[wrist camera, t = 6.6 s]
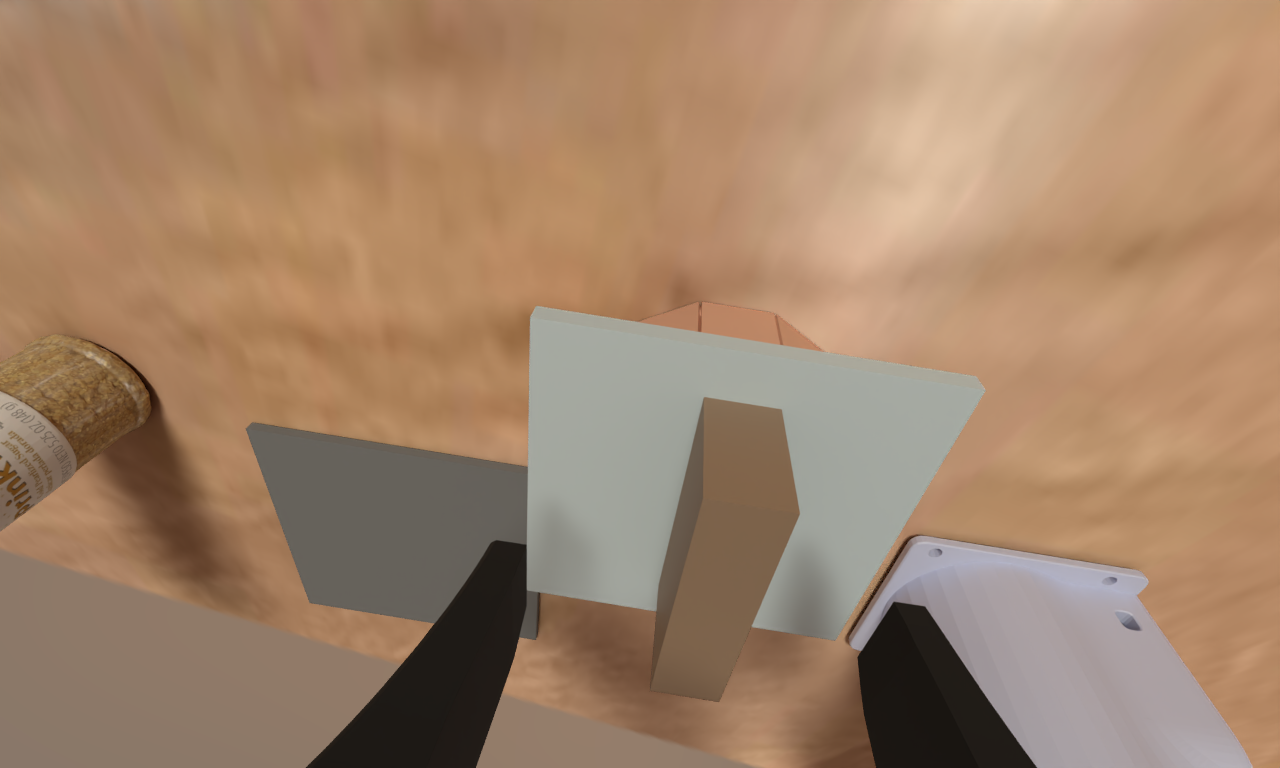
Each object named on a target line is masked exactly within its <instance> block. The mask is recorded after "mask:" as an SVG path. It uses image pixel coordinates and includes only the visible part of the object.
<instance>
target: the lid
mask: <svg viewBox="0 0 1280 768" xmlns="http://www.w3.org/2000/svg"><path fill="white" fill-rule="evenodd" d="M985 391H986V390H985V389H984V387H983V386H982V384H981V383H980V381H979V380H978V378H977V377H976V376H972V375H965V374H959V373H953V372H947V371H940V370H934V369H928V368H922V367H915V366H909V365H903V364H897V363H890V362H884V361H878V360H872V359H865V358H859V357H853V356H846V355H840V354H834V353H828V352H821V351H815V350H809V349H803V348H796V347H790V346H784V345H778V344H771V343H765V342H759V341H753V340H746V339H740V338H734V337H728V336H721V335H715V334H709V333H703V332H696V331H690V330H684V329H678V328H671V327H665V326H659V325H653V324H646V323H640V322H634V321H628V320H621V319H615V318H609V317H603V316H596V315H590V314H584V313H578V312H571V311H565V310H559V309H553V308H546V307H540V306H536V308H535V309H534V311H533V313H532V315H531V317H530V365H529V432H528V499H527V590H528V591H534V592H540V593H546V594H552V595H559V596H565V597H571V598H577V599H583V600H589V601H595V602H601V603H608V604H614V605H620V606H626V607H632V608H638V609H644V610H650V611H656V622H655V634H654V646H653V659H652V671H651V683H650V691H654V692H661V693H667V694H673V695H679V696H685V697H691V698H697V699H703V700H709V701H715V702H719V701H720V699H721V696H722V694H723V692H724V689H725V687H726V685H727V682H728V680H729V678H730V675H731V673H732V671H733V668H734V666H735V664H736V662H737V659H738V657H739V655H740V652H741V650H742V648H743V645H744V643H745V641H746V638H747V636H748V634H749V631H750V629H751V627H755V628H761V629H767V630H773V631H779V632H785V633H791V634H797V635H804V636H810V637H816V638H822V639H828V640H834V641H835V640H836V639H837V637H838V635H839V634H840V632H841V630H842V629H843V627H844V625H845V624H846V622H847V620H848V619H849V617H850V615H851V614H852V612H853V610H854V609H855V607H856V605H857V604H858V602H859V600H860V599H861V597H862V595H863V594H864V592H865V590H866V589H867V587H868V585H869V584H870V582H871V580H872V579H873V577H874V575H875V574H876V572H877V570H878V569H879V567H880V565H881V564H882V562H883V560H884V559H885V557H886V555H887V554H888V552H889V551H890V549H891V547H892V546H893V544H894V542H895V541H896V539H897V537H898V536H899V534H900V532H901V531H902V529H903V527H904V526H905V524H906V522H907V521H908V519H909V517H910V516H911V514H912V512H913V511H914V509H915V507H916V506H917V504H918V502H919V501H920V499H921V497H922V496H923V494H924V492H925V491H926V489H927V487H928V486H929V484H930V482H931V481H932V479H933V477H934V476H935V474H936V472H937V471H938V469H939V467H940V466H941V464H942V462H943V461H944V459H945V457H946V456H947V454H948V452H949V451H950V449H951V447H952V446H953V444H954V442H955V441H956V439H957V437H958V436H959V434H960V432H961V431H962V429H963V427H964V426H965V424H966V422H967V421H968V419H969V417H970V416H971V414H972V412H973V411H974V409H975V407H976V406H977V404H978V402H979V401H980V399H981V397H982V396H983V394H984V392H985Z"/></svg>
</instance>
